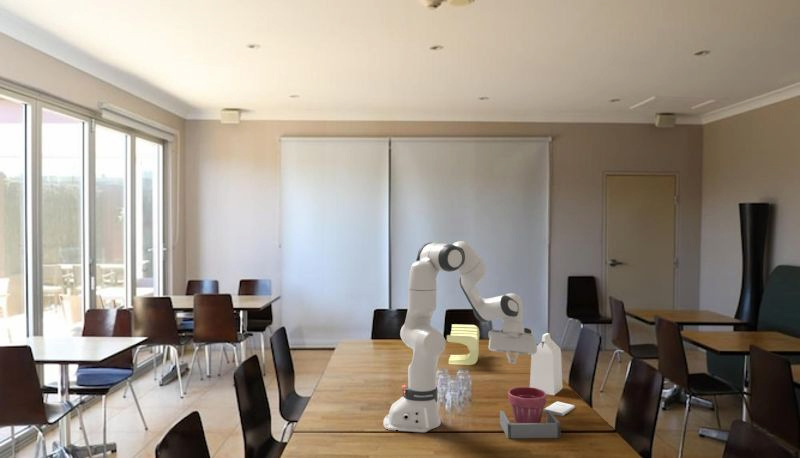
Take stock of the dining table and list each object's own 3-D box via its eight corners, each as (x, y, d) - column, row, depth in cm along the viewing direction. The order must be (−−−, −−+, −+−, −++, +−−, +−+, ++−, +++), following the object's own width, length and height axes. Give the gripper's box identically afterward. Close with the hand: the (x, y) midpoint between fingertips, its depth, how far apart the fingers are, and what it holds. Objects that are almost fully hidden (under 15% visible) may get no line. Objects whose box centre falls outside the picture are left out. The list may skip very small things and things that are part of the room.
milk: (538, 384, 254) (538, 330, 253) (562, 388, 247) (562, 333, 246) (529, 390, 244) (529, 335, 243) (553, 395, 237) (553, 338, 237)
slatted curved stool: (476, 369, 279) (476, 336, 279) (447, 368, 282) (446, 335, 282) (479, 355, 308) (479, 325, 308) (452, 354, 311) (452, 324, 311)
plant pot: (506, 429, 199) (506, 396, 198) (510, 416, 212) (510, 385, 212) (545, 434, 194) (545, 400, 194) (547, 420, 208) (547, 388, 207)
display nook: (507, 438, 191) (507, 424, 191) (500, 423, 205) (500, 410, 205) (560, 437, 191) (560, 424, 191) (549, 422, 205) (549, 410, 205)
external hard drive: (543, 412, 218) (556, 404, 227) (562, 417, 212) (575, 408, 221) (543, 408, 217) (556, 400, 227) (562, 413, 212) (575, 405, 221)
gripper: (489, 326, 225) (488, 358, 219) (537, 330, 224) (538, 363, 218) (487, 330, 231) (486, 362, 225) (534, 335, 230) (535, 366, 223)
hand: (512, 362), depth 221 cm, fingers closed
